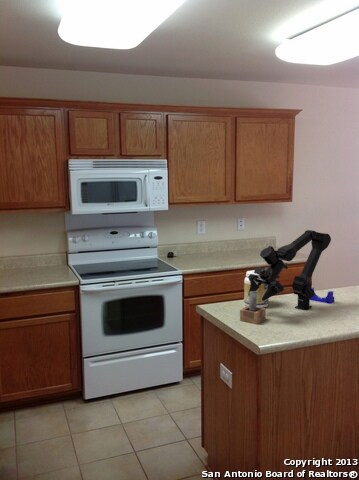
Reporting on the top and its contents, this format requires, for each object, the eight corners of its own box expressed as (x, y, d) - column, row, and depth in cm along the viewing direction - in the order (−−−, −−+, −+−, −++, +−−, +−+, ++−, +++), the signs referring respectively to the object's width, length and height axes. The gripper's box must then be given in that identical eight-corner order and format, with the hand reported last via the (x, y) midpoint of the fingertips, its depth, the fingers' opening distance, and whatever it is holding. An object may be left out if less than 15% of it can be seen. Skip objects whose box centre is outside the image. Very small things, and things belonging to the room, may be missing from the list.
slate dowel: (255, 318, 191) (255, 290, 189) (257, 320, 188) (257, 292, 186) (248, 319, 190) (248, 291, 188) (250, 321, 187) (250, 293, 185)
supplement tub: (268, 309, 204) (269, 275, 201) (243, 308, 206) (243, 274, 204) (268, 302, 216) (268, 269, 213) (244, 301, 218) (244, 269, 216)
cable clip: (334, 302, 214) (334, 290, 213) (330, 304, 211) (330, 292, 210) (312, 298, 222) (312, 287, 221) (308, 299, 219) (308, 288, 218)
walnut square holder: (248, 315, 195) (248, 305, 194) (265, 319, 190) (265, 308, 189) (240, 320, 188) (240, 310, 188) (256, 324, 183) (256, 313, 182)
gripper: (251, 256, 196) (232, 283, 193) (279, 263, 181) (259, 292, 177) (263, 271, 202) (245, 297, 198) (292, 278, 186) (273, 307, 182)
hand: (255, 297), depth 188 cm, fingers open, 9 cm apart
